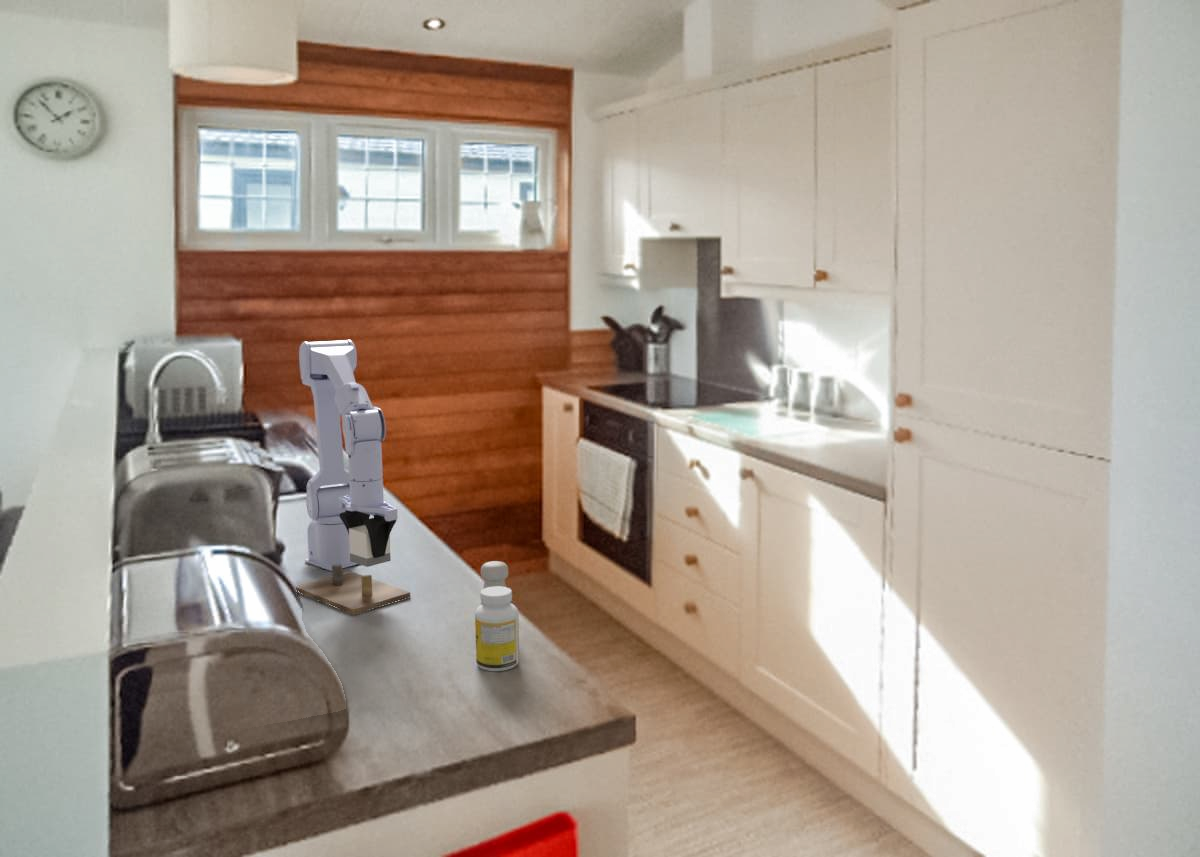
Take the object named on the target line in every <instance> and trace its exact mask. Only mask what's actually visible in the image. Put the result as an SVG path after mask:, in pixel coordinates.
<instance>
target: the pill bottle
mask: <svg viewBox="0 0 1200 857" xmlns="http://www.w3.org/2000/svg"><path fill="white" fill-rule="evenodd" d="M512 600H513V591H512V589H511V588H510V587H507V586H506V587H502V586H493V587H487V588H484V589H481V591H480V603H481V602H482V605H481V604H480V605H479V606H478V607H477V608H476V610H475V613H474V621H475V622H474V625H475V626H474V627H475V659H476V660H475V662H476V664H477V667H479V668H480V669H482V670H484V671H488V672H504V671H508V670H512V669H513V668H514V667H516V666H517V665H518V664H519V661H520V641H519V640H520V638H519V637H520V633H519V632H520V630H519V626H520V625H519V624H520V623H519V611H518V610H519V609H518V607H517V606H516V605H515V604H513V603H511V602H512Z"/></svg>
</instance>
